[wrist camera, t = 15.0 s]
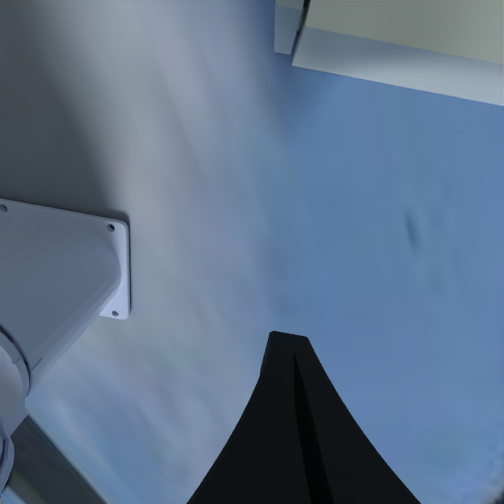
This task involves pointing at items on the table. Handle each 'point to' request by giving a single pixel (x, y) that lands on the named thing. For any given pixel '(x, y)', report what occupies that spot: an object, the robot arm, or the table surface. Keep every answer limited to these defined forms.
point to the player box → (409, 44)
